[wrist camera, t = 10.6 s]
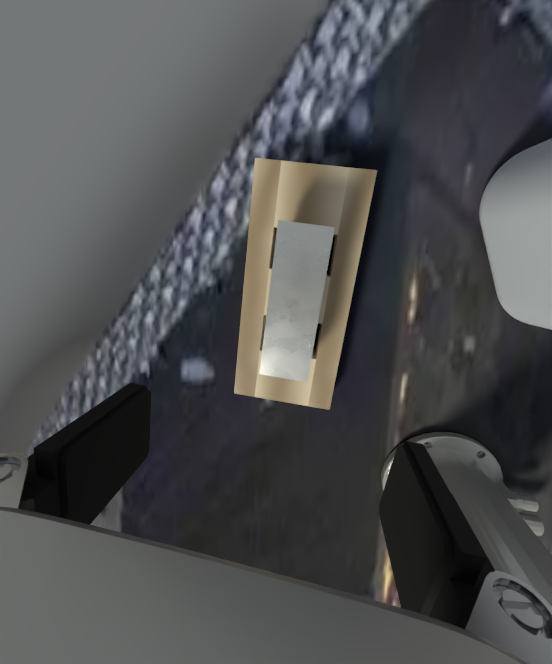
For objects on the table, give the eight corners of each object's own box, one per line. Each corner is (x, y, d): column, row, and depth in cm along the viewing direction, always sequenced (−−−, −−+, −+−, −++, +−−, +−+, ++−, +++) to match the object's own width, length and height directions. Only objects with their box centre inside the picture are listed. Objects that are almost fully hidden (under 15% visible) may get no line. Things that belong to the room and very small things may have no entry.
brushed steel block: (328, 233, 28) (334, 227, 20) (308, 349, 31) (307, 382, 24) (287, 228, 28) (278, 219, 20) (272, 343, 32) (259, 374, 24)
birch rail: (370, 178, 26) (377, 170, 23) (328, 395, 32) (329, 409, 29) (261, 167, 27) (255, 157, 24) (240, 380, 33) (234, 393, 30)
